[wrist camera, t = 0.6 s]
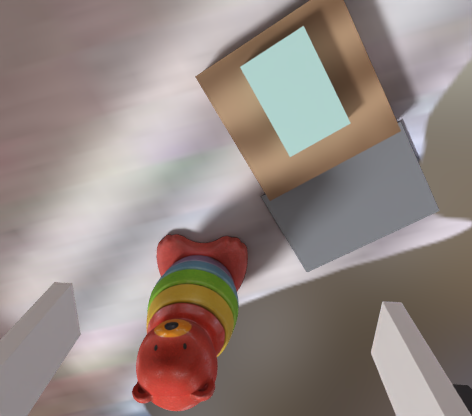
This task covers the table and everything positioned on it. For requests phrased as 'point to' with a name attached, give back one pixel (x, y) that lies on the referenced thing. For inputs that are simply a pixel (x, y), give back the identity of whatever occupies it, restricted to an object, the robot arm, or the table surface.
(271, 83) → the mint green block
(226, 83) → the tan flat square slab
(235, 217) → the table surface
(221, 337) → the stacking bear
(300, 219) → the mat
